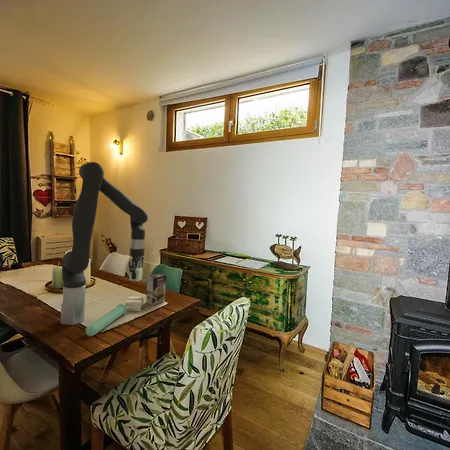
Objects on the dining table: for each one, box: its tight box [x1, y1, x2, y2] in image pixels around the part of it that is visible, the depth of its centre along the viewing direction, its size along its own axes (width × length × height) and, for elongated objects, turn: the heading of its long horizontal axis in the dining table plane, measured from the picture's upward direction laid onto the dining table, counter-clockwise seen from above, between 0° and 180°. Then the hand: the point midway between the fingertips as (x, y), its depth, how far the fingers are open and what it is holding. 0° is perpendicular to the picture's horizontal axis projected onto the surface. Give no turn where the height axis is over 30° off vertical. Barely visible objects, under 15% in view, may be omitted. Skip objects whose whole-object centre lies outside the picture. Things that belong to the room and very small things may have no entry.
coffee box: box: [145, 273, 167, 306], centre depth 156 cm, size 9×6×16 cm
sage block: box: [128, 268, 144, 282], centre depth 144 cm, size 5×5×6 cm
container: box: [85, 303, 127, 337], centre depth 125 cm, size 6×6×25 cm
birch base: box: [124, 296, 144, 312], centre depth 146 cm, size 8×8×5 cm
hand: (135, 277), depth 145 cm, fingers closed on sage block, 5 cm apart
